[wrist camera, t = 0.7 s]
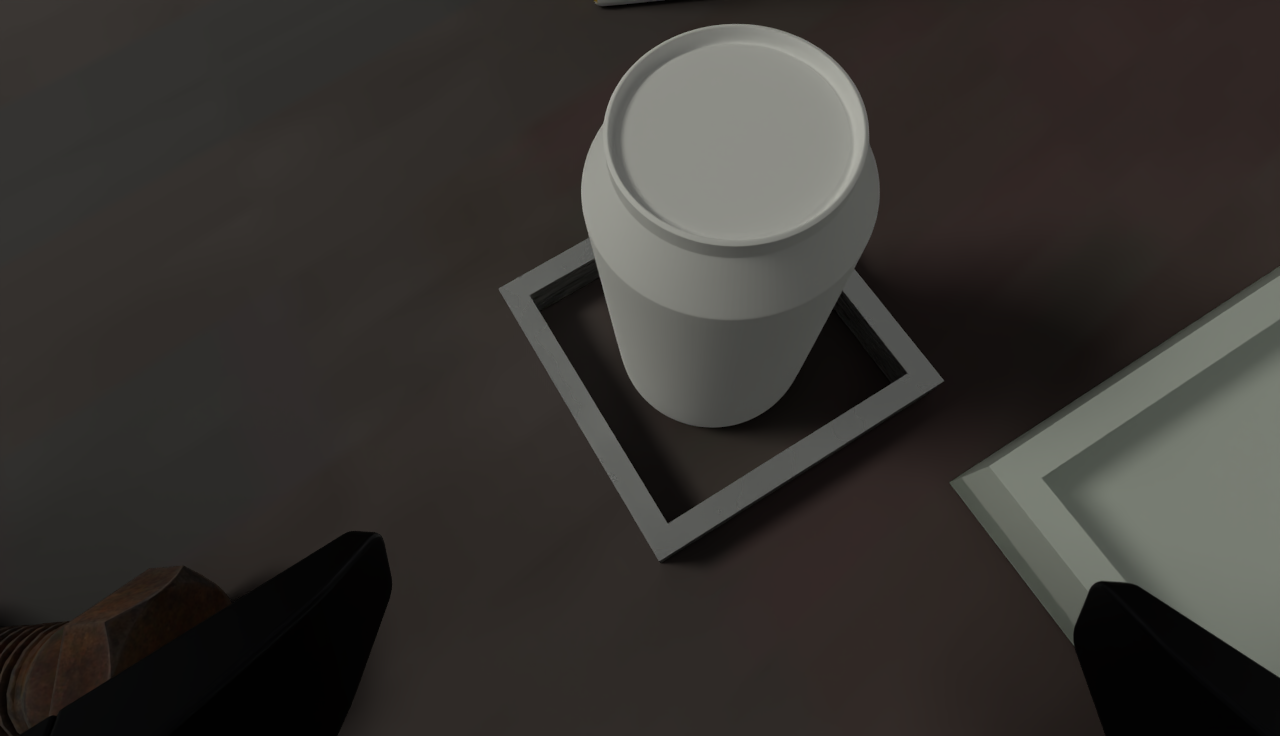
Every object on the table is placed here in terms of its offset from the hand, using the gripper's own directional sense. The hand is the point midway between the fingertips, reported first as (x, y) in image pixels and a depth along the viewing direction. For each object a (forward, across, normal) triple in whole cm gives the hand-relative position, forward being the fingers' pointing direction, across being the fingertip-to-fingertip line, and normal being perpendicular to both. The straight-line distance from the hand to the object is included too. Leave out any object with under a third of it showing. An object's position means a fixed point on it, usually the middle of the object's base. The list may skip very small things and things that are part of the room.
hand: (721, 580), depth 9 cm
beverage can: (+15, 0, +4) cm, 16 cm away
